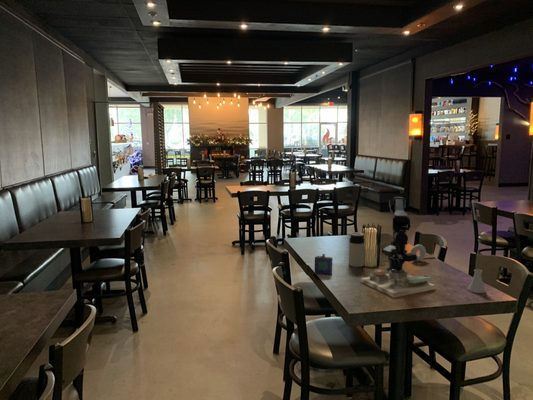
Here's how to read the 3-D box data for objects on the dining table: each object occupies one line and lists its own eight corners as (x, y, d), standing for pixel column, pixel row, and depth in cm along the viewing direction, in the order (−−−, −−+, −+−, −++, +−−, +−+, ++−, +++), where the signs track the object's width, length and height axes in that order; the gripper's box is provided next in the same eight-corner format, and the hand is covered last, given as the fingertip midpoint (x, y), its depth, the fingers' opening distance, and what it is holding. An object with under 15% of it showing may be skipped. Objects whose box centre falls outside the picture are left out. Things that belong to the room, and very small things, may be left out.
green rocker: (401, 281, 199) (401, 278, 199) (418, 278, 204) (418, 275, 204) (413, 283, 192) (413, 280, 192) (431, 279, 197) (431, 276, 197)
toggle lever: (393, 284, 193) (389, 269, 195) (396, 283, 194) (392, 268, 196) (396, 283, 192) (392, 268, 194) (399, 283, 193) (395, 268, 194)
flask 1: (332, 273, 219) (332, 253, 218) (331, 275, 217) (332, 255, 215) (314, 272, 221) (314, 252, 220) (314, 274, 219) (314, 254, 217)
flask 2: (475, 294, 190) (477, 273, 188) (464, 289, 197) (465, 268, 195) (489, 293, 192) (490, 272, 190) (477, 287, 198) (478, 267, 197)
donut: (412, 263, 239) (413, 245, 237) (408, 261, 242) (409, 244, 241) (426, 261, 242) (427, 244, 241) (422, 259, 245) (423, 243, 244)
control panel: (360, 282, 206) (361, 272, 205) (399, 275, 217) (400, 265, 216) (393, 297, 186) (394, 286, 185) (435, 289, 196) (435, 278, 196)
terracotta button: (372, 275, 205) (372, 270, 204) (379, 273, 206) (379, 269, 206) (378, 277, 201) (378, 272, 200) (385, 276, 202) (385, 271, 202)
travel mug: (352, 267, 230) (353, 235, 227) (346, 263, 237) (347, 232, 235) (365, 266, 231) (366, 234, 229) (359, 262, 239) (360, 231, 236)
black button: (391, 274, 210) (391, 269, 210) (398, 273, 212) (398, 268, 211) (397, 277, 206) (397, 272, 206) (404, 275, 208) (404, 271, 207)
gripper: (374, 237, 211) (372, 267, 213) (400, 245, 195) (399, 278, 197) (391, 235, 216) (389, 264, 218) (418, 243, 199) (416, 275, 202)
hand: (398, 270), depth 209 cm, fingers closed, pressing on black button
